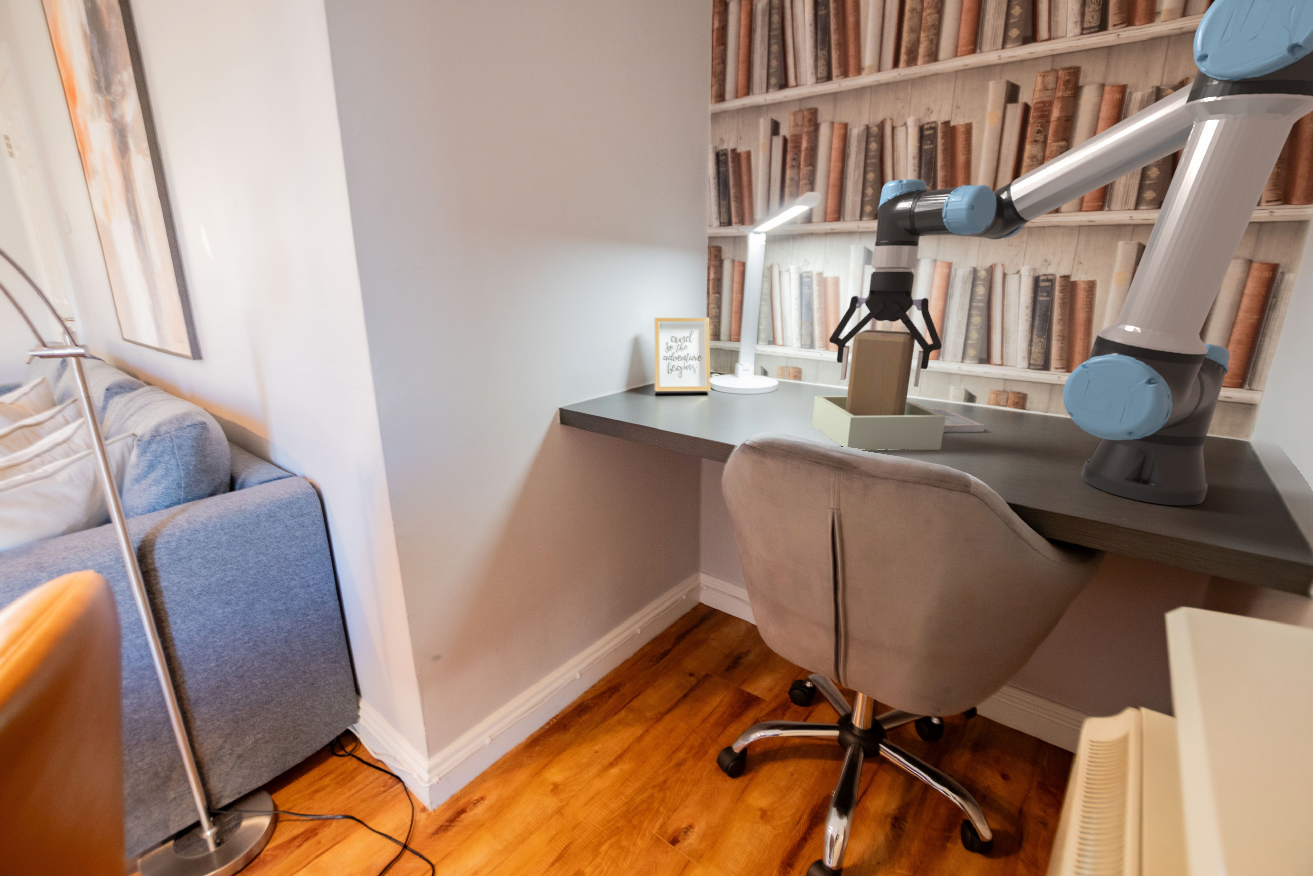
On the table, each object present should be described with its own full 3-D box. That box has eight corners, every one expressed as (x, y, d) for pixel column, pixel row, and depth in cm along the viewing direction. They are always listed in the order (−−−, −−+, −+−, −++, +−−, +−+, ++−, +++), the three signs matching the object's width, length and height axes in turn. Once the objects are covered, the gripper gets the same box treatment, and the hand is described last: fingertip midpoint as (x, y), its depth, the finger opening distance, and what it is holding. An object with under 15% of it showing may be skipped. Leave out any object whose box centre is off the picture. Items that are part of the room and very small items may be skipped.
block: (902, 430, 118) (916, 331, 112) (895, 441, 109) (909, 336, 104) (852, 423, 123) (863, 328, 117) (842, 433, 114) (853, 332, 109)
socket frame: (983, 432, 121) (984, 425, 120) (914, 432, 119) (915, 425, 119) (941, 414, 136) (942, 408, 135) (879, 414, 134) (880, 408, 134)
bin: (940, 449, 108) (945, 416, 107) (846, 451, 107) (850, 417, 105) (892, 424, 126) (896, 395, 124) (812, 425, 124) (814, 395, 122)
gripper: (966, 271, 105) (948, 384, 111) (827, 269, 115) (817, 373, 121) (969, 271, 99) (949, 391, 105) (821, 269, 109) (811, 379, 115)
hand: (878, 382), depth 113 cm, fingers open, 13 cm apart
